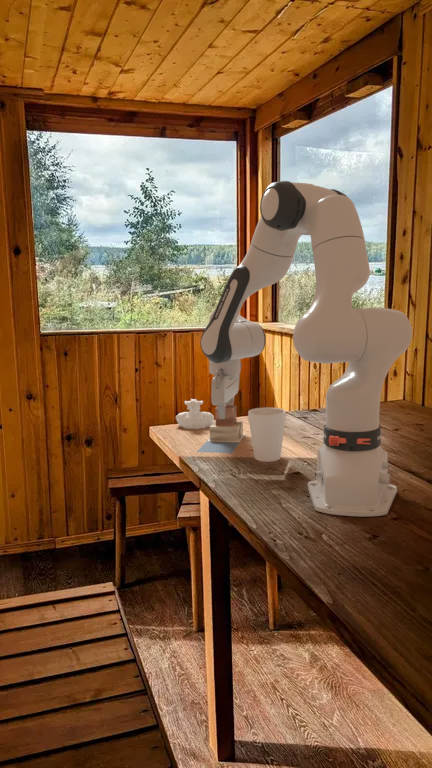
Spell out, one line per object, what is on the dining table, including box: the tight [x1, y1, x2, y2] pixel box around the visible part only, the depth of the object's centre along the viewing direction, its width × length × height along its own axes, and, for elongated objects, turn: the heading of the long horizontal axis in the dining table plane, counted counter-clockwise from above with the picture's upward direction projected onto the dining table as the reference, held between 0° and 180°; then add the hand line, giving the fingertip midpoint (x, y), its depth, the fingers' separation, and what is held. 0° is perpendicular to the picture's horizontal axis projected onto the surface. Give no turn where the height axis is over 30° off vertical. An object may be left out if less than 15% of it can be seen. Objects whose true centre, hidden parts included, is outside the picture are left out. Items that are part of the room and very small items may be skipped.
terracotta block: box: [214, 404, 238, 426], centre depth 172 cm, size 5×5×5 cm
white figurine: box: [175, 398, 215, 430], centre depth 185 cm, size 12×8×11 cm
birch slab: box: [209, 420, 244, 442], centre depth 172 cm, size 8×8×4 cm
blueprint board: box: [196, 433, 247, 454], centre depth 167 cm, size 20×10×1 cm, turn 167°
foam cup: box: [247, 407, 287, 463], centre depth 151 cm, size 10×9×13 cm
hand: (226, 414), depth 171 cm, fingers open, 8 cm apart
